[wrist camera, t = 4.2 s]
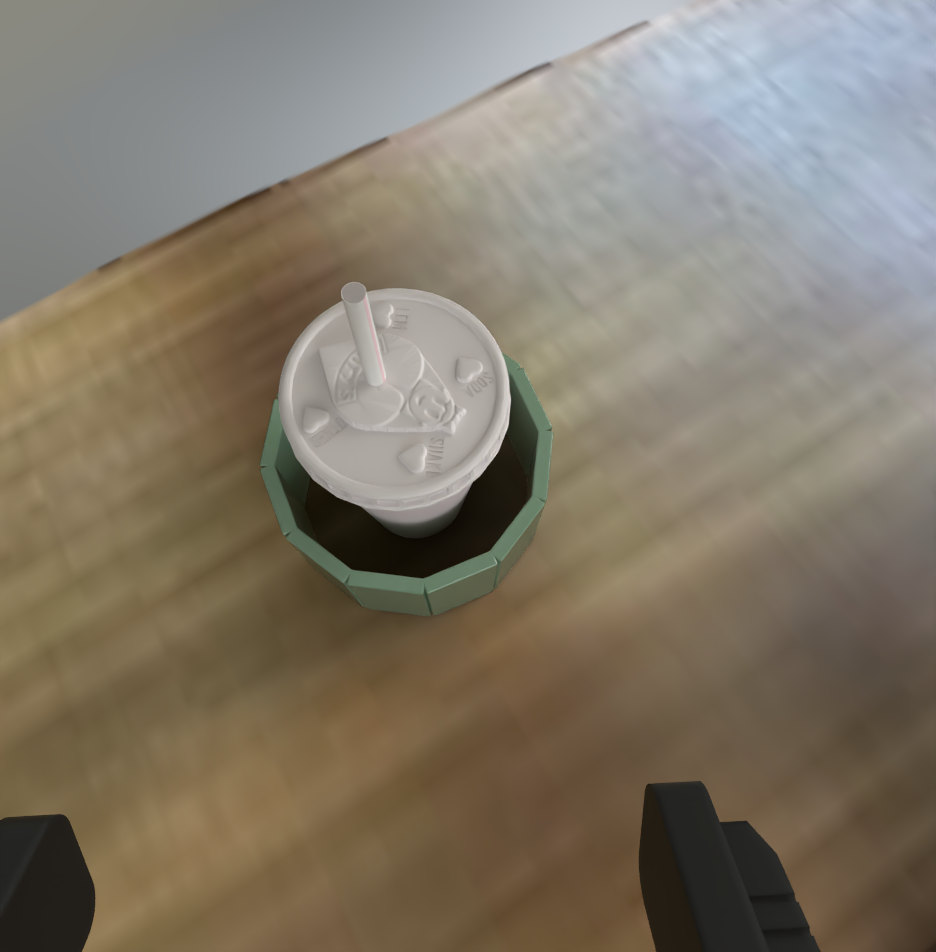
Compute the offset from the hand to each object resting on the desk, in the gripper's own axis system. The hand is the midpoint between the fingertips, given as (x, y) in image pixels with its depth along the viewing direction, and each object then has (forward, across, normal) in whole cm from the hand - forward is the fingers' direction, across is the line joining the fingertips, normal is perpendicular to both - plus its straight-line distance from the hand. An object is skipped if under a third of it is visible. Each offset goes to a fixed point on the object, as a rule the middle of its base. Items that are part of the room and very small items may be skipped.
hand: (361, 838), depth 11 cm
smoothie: (+19, 0, +5) cm, 20 cm away
